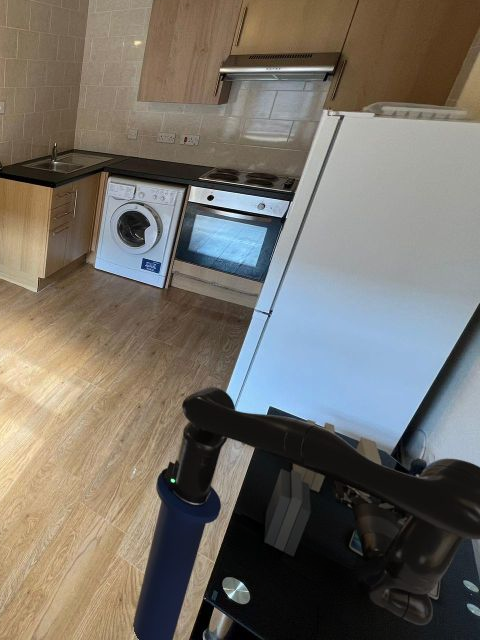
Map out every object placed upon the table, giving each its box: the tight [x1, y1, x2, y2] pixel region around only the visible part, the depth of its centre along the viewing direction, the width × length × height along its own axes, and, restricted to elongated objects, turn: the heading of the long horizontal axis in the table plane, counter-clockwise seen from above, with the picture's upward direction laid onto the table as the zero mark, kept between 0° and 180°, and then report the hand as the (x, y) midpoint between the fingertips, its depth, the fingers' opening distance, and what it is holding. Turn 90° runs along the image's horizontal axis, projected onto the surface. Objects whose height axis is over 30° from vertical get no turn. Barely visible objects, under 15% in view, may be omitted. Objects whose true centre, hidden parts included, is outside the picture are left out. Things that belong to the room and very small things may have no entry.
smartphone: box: [348, 529, 441, 600], centre depth 97 cm, size 7×1×15 cm
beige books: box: [292, 419, 336, 493], centre depth 119 cm, size 6×10×17 cm, turn 143°
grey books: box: [263, 468, 312, 557], centre depth 101 cm, size 6×10×16 cm, turn 143°
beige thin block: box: [346, 436, 383, 509], centre depth 113 cm, size 3×11×16 cm, turn 142°
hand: (367, 485), depth 106 cm, fingers open, 8 cm apart
